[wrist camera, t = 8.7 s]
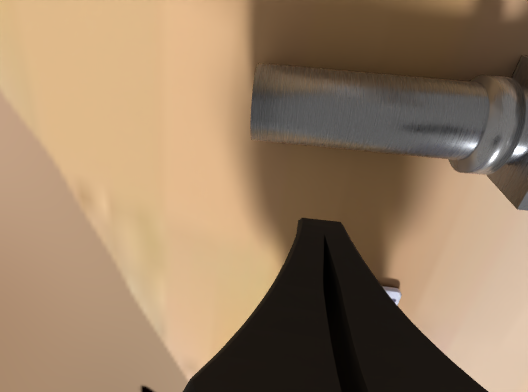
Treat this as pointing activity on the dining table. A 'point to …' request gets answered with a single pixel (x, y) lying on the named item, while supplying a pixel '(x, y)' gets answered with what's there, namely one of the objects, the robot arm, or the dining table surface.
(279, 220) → the dining table surface
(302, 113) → the valve pipe
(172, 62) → the dining table surface
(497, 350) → the dining table surface
